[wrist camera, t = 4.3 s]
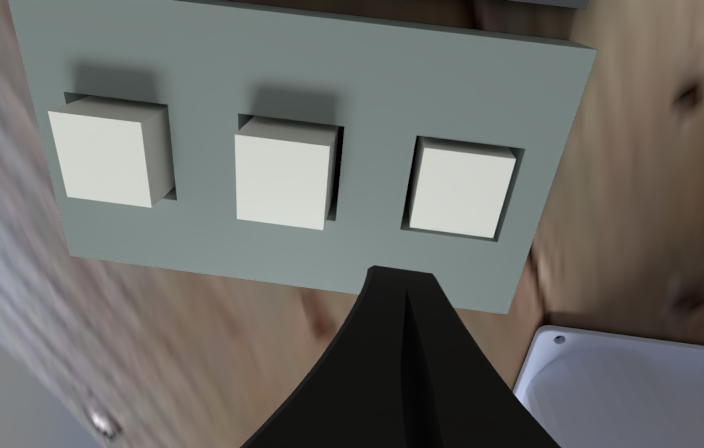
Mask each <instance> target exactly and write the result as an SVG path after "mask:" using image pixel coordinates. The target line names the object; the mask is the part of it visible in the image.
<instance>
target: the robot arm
mask: <svg viewBox="0 0 704 448" xmlns="http://www.w3.org/2000/svg"><path fill="white" fill-rule="evenodd" d="M557 336H561V337H560V338H555V337H557ZM240 448H704V346H701V345H693V344H686V343H678V342H671V341H664V340H656V339H649V338H641V337H634V336H627V335H619V334H612V333H604V332H597V331H590V330H582V329H575V328H567V327H560V326H552V325H545V326H542V327H540V328H539V329H538V330H537V331H536V333H535V336H534V338H533V341H532V343H531V346H530V349H529V351H528V354H527V356H526V359H525V361H524V364H523V366H522V369H521V372H520V374H519V377H518V379H517V382H516V384H515V387H514V389H513V392H512V391H511V390H510V388H509V387H508V386H507V385H506V383H505V382H504V381H503V379H502V378H501V377H500V375H499V374H498V373H497V371H496V370H495V369H494V367H493V366H492V365H491V363H490V362H489V361H488V359H487V358H486V356H485V355H484V354H483V352H482V351H481V349H480V348H479V346H478V345H477V343H476V342H475V340H474V339H473V337H472V336H471V334H470V333H469V332H468V330H467V329H466V327H465V325H464V324H463V322H462V321H461V319H460V318H459V316H458V314H457V313H456V311H455V309H454V308H453V306H452V305H451V303H450V301H449V300H448V298H447V296H446V294H445V293H444V291H443V289H442V288H441V286H440V284H439V282H438V281H437V279H436V277H435V276H434V275H433V273H427V272H419V271H412V270H405V269H398V268H391V267H384V266H377V265H373V266H372V267H370V268H368V269H367V276H366V279H365V282H364V285H363V287H362V290H361V292H360V294H359V296H358V298H357V300H356V302H355V304H354V306H353V308H352V309H351V311H350V313H349V315H348V316H347V318H346V320H345V322H344V323H343V325H342V327H341V328H340V330H339V331H338V333H337V334H336V336H335V337H334V339H333V340H332V342H331V343H330V344H329V346H328V347H327V349H326V350H325V352H324V353H323V355H322V356H321V357H320V359H319V360H318V361H317V363H316V364H315V365H314V367H313V368H312V369H311V371H310V372H309V373H308V374H307V376H306V377H305V378H304V379H303V381H302V382H301V383H300V384H299V385H298V386H297V388H296V389H295V390H294V391H293V392H292V394H291V395H290V396H289V397H288V398H287V399H286V400H285V401H284V403H283V404H282V405H281V406H280V407H279V408H278V409H277V410H276V411H275V412H274V413H273V414H272V415H271V417H270V418H269V419H268V420H267V421H266V422H265V423H264V424H263V425H262V426H261V427H260V428H259V429H258V430H257V431H256V432H255V433H254V434H253V435H252V436H251V437H250V438H249V439H248V440H247V441H246V442H245V443H244V444H243V445H242V446H241V447H240Z"/></svg>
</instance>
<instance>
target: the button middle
mask: <svg viewBox="0 0 704 448" xmlns="http://www.w3.org/2000/svg"><path fill="white" fill-rule="evenodd" d="M338 129H339V126H337V125H329V124H321V123H313V122H305V121H297V120H288V119H280V118H272V117H264V116H256V115H255V116H254V117H253V118H252V119H251V120H250V121H249V122H248V123H247V124H245V125H244V126H243V127H242V128H241V129H240V130H239V131H238V132H237V133H236V134H235V164H236V202H237V219H241V220H249V221H256V222H264V223H272V224H279V225H287V226H295V227H302V228H310V229H318V230H323V229H324V226H325V223H326V219H327V216H328V212H329V209H330V206H331V202H332V198H333V187H334V175H335V164H336V152H337V141H338Z"/></svg>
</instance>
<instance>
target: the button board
mask: <svg viewBox="0 0 704 448" xmlns="http://www.w3.org/2000/svg"><path fill="white" fill-rule="evenodd" d="M8 2H9V6H10V11H11V15H12V19H13V23H14V27H15V31H16V35H17V40H18V44H19V48H20V52H21V56H22V60H23V64H24V69H25V73H26V77H27V81H28V85H29V89H30V93H31V98H32V102H33V106H34V110H35V114H36V118H37V122H38V127H39V131H40V135H41V139H42V143H43V147H44V151H45V156H46V160H47V164H48V168H49V172H50V176H51V180H52V185H53V189H54V193H55V197H56V201H57V205H58V210H59V214H60V218H61V222H62V226H63V230H64V234H65V239H66V243H67V247H68V251H69V255H70V256H76V257H84V258H91V259H99V260H106V261H114V262H121V263H128V264H136V265H143V266H151V267H158V268H166V269H173V270H180V271H188V272H195V273H203V274H210V275H218V276H225V277H232V278H240V279H247V280H255V281H262V282H270V283H277V284H284V285H292V286H299V287H307V288H314V289H322V290H329V291H336V292H344V293H351V294H360V292H361V290H362V287H363V285H364V282H365V279H366V276H367V269H368V268H370V267H372V266H373V265H377V266H384V267H391V268H398V269H405V270H412V271H419V272H427V273H433V275H434V276H435V277H436V279H437V281H438V282H439V284H440V286H441V288H442V289H443V291H444V293H445V294H446V296H447V298H448V300H449V301H450V303H451V305H452V306H453V307H455V308H463V309H470V310H478V311H485V312H493V313H500V314H508V311H509V308H510V305H511V302H512V299H513V296H514V293H515V291H516V288H517V285H518V282H519V279H520V276H521V273H522V270H523V267H524V264H525V261H526V258H527V255H528V253H529V250H530V247H531V244H532V241H533V238H534V235H535V232H536V229H537V226H538V223H539V220H540V218H541V215H542V212H543V209H544V206H545V203H546V200H547V197H548V194H549V191H550V188H551V185H552V182H553V180H554V177H555V174H556V171H557V168H558V165H559V162H560V159H561V156H562V153H563V150H564V147H565V145H566V142H567V139H568V136H569V133H570V130H571V127H572V124H573V121H574V118H575V115H576V112H577V109H578V107H579V104H580V101H581V98H582V95H583V92H584V89H585V86H586V83H587V80H588V77H589V74H590V71H591V69H592V66H593V63H594V60H595V57H596V54H597V51H598V50H596V49H593V48H590V47H587V46H584V45H581V44H578V43H575V42H572V41H569V40H561V39H552V38H543V37H535V36H526V35H518V34H509V33H501V32H492V31H483V30H475V29H466V28H458V27H449V26H440V25H432V24H423V23H415V22H406V21H398V20H389V19H380V18H372V17H363V16H355V15H346V14H337V13H329V12H320V11H312V10H303V9H295V8H286V7H277V6H269V5H260V4H252V3H243V2H234V1H226V0H8ZM91 95H95V96H103V97H111V98H119V99H127V100H135V101H143V102H151V103H159V104H167V105H168V113H169V123H170V133H171V144H172V154H173V164H174V174H175V185H176V186H175V187H174V188H173V189H172V190H171V191H169V192H168V193H167V194H166V195H165V196H164V197H163V198H162V199H161V200H160V201H159V202H157V203H156V204H155V205H154V206H153V207H152V208H149V207H142V206H134V205H126V204H119V203H111V202H103V201H96V200H88V199H80V198H73V197H67V193H66V189H65V185H64V180H63V176H62V171H61V167H60V163H59V158H58V154H57V149H56V145H55V141H54V136H53V132H52V127H51V123H50V119H49V114H48V111H50V110H52V109H55V108H58V107H61V106H63V105H66V104H69V103H71V102H74V101H77V100H80V99H82V98H85V97H88V96H91ZM255 115H256V116H264V117H272V118H280V119H288V120H297V121H305V122H313V123H321V124H329V125H337V126H345V128H344V138H343V149H342V160H341V170H340V181H339V192H338V193H335V192H333V198H332V202H331V206H330V209H329V212H328V216H327V219H326V223H325V226H324V229H323V230H318V229H310V228H302V227H295V226H287V225H279V224H272V223H264V222H256V221H249V220H241V219H237V202H236V164H235V134H236V133H237V132H238V131H239V130H240V129H241V128H242V127H243V126H244V125H245V124H247V123H248V122H249V121H250V120H251V119H252V118H253V117H254V116H255ZM417 135H418V136H426V137H434V138H442V139H450V140H458V141H466V142H474V143H482V144H490V145H499V146H507V147H508V148H509V150H510V151H511V153H512V154H513V156H514V157H515V158H516V161H515V164H514V168H513V171H512V175H511V178H510V182H509V185H508V188H507V192H506V195H505V199H504V202H503V205H502V209H501V212H500V216H499V219H498V223H497V226H496V229H495V233H494V236H493V238H489V237H481V236H473V235H466V234H458V233H450V232H443V231H435V230H427V229H419V228H412V227H410V224H409V205H408V202H405V199H406V193H407V187H408V182H409V176H410V170H411V164H412V159H413V153H414V147H415V141H416V136H417Z"/></svg>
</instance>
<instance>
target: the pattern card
mask: <svg viewBox="0 0 704 448" xmlns="http://www.w3.org/2000/svg"><path fill="white" fill-rule="evenodd" d="M510 1H519V2H528V3H536V4H545V5H554V6H563V7H571V8H580V9H586V7H587V4H588V0H510Z"/></svg>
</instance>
